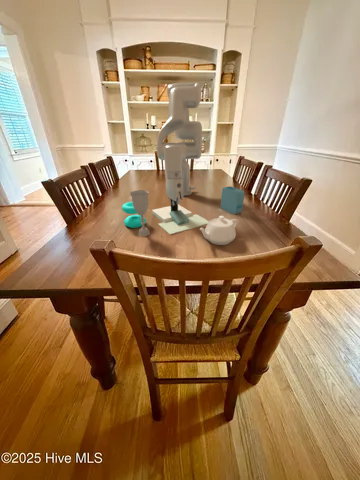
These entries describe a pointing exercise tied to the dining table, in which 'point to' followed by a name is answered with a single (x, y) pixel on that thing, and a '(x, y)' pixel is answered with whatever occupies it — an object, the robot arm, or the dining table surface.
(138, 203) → the chalice
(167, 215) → the block
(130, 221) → the donuts
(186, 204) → the dining table surface
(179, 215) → the tile
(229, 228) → the teapot
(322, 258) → the dining table surface
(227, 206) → the data package
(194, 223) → the mat
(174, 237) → the dining table surface
